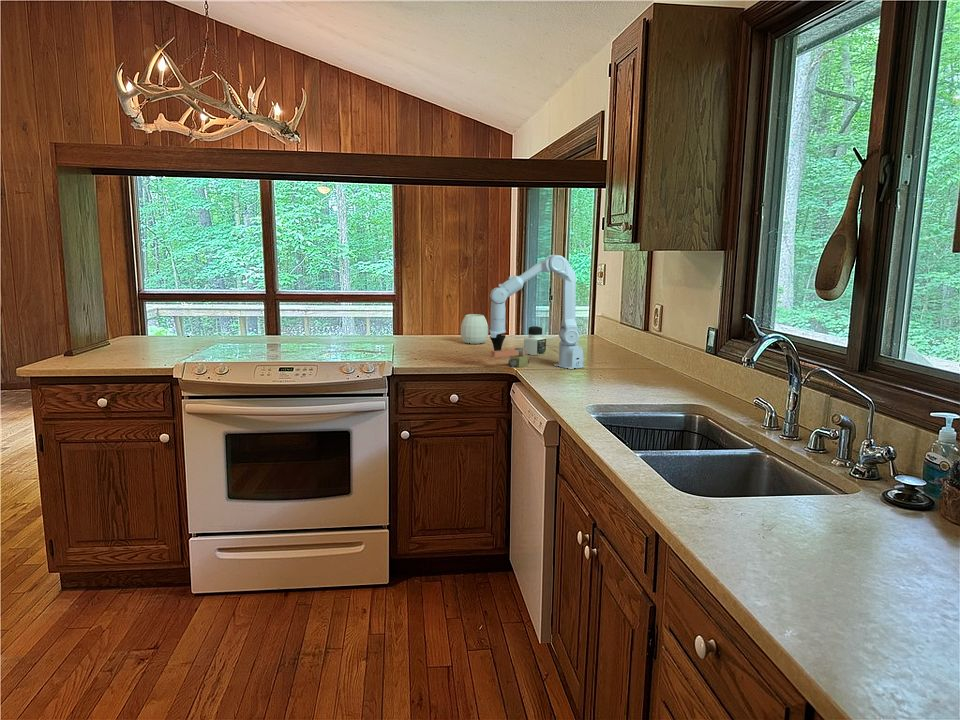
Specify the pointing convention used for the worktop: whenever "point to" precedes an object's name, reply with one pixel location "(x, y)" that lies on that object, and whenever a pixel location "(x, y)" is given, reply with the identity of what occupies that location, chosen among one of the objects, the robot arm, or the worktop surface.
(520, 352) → the lever
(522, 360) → the valve
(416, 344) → the worktop surface
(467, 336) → the cup
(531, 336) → the medicine bottle
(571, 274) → the robot arm
